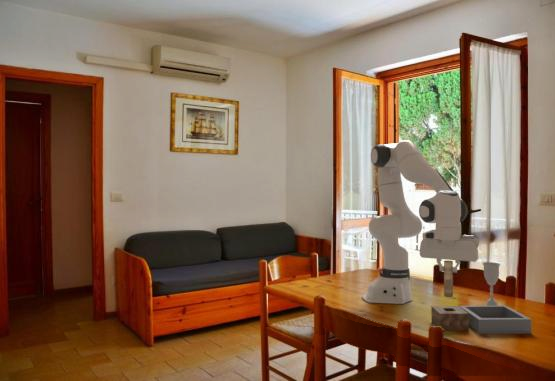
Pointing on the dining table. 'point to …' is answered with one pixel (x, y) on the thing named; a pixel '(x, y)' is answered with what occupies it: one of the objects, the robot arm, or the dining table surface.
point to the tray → (497, 320)
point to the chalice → (491, 279)
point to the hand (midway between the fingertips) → (448, 271)
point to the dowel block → (450, 317)
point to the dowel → (448, 278)
